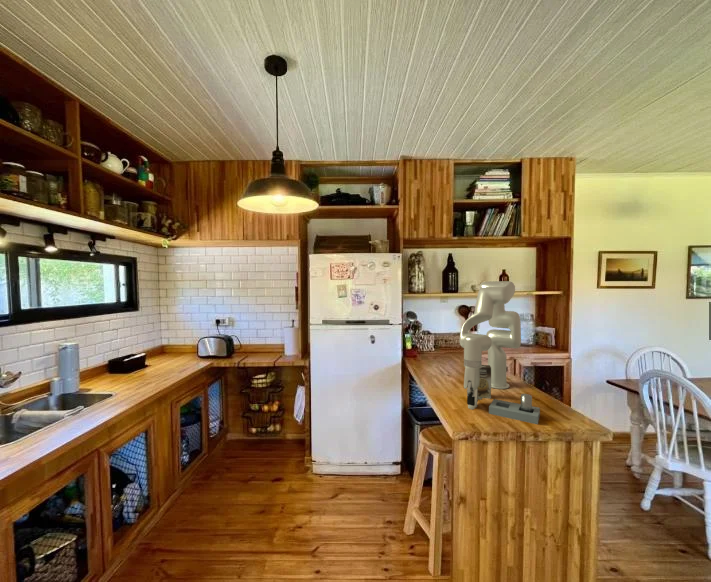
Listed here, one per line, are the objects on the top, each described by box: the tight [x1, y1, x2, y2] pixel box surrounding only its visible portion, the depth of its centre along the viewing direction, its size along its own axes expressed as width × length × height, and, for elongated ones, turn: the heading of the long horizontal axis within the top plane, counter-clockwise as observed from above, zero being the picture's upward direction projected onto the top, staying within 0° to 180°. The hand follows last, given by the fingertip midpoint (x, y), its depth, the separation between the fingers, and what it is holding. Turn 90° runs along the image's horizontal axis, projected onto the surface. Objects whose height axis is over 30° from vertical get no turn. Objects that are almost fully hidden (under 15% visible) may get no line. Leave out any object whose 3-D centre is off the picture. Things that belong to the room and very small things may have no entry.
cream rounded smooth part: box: [467, 388, 478, 410], centre depth 138 cm, size 4×4×9 cm
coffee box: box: [478, 364, 492, 400], centre depth 151 cm, size 9×6×16 cm
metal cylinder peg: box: [520, 393, 533, 413], centre depth 126 cm, size 4×4×9 cm
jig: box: [488, 398, 541, 425], centre depth 129 cm, size 11×18×4 cm, turn 55°
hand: (472, 402), depth 138 cm, fingers open, 4 cm apart
